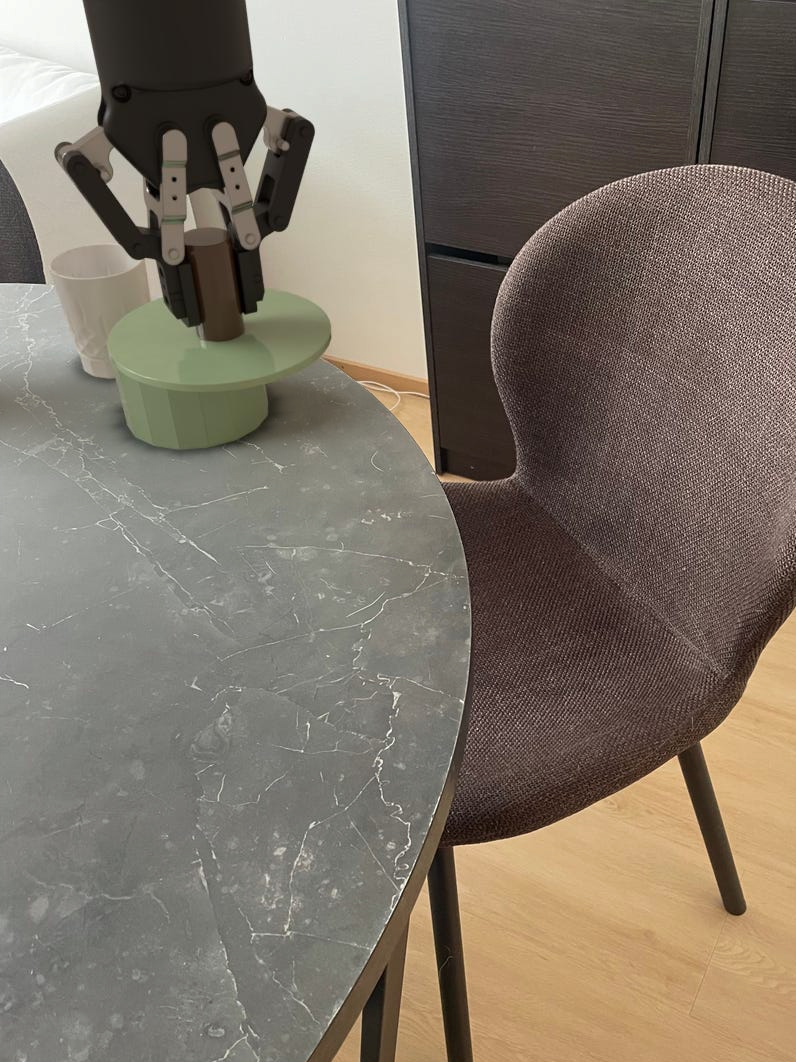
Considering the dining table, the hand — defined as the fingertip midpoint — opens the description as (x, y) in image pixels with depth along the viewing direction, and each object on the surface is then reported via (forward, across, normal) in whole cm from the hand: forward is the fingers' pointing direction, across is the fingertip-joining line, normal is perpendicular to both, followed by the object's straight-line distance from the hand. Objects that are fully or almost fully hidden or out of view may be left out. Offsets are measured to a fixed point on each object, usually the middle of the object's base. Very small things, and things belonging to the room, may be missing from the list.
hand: (217, 313), depth 60 cm
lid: (+2, 0, 0) cm, 2 cm away
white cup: (+20, -1, -35) cm, 40 cm away
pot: (+19, -4, -23) cm, 30 cm away
